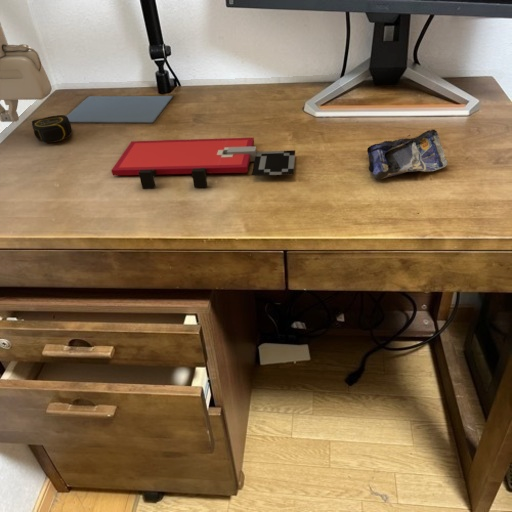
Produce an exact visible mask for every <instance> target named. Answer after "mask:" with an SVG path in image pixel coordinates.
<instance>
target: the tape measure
mask: <svg viewBox="0 0 512 512" xmlns="http://www.w3.org/2000/svg"><path fill="white" fill-rule="evenodd" d="M31 126H32V129H33V134H34V136H35V137H36V138H37V140H38V141H39V142H42V143H55V142H61V141H63V140H64V139H67V138H69V136H71V135H72V133H73V129H72V123H70V121H69V119H68V117H67V115H64V114H57V115H51V116H46V117H42V118H38V119H34V120H32V121H31Z"/></svg>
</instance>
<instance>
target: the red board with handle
mask: <svg viewBox="0 0 512 512" xmlns="http://www.w3.org/2000/svg"><path fill="white" fill-rule="evenodd" d="M254 145H255V137H226V138H195V139H167V140H166V139H164V140H162V139H161V140H133V141H131V142H130V143H129V144H128V146H127V147H126V148H125V150H124V151H123V153H122V154H121V155H120V157H119V159H118V160H117V162H116V163H115V164H114V166H113V167H112V169H111V170H110V171H111V174H112V176H138V177H139V180H140V184H141V188H142V189H143V190H144V189H155V187H156V182H155V176H157V175H184V174H185V175H190V174H191V176H192V183H193V187H194V188H196V189H197V188H207V187H208V181H207V174H228V173H229V174H235V173H236V174H237V173H238V174H240V173H243V174H244V173H248V170H249V165H250V163H252V162H253V167H252V171H251V176H277V175H279V176H281V175H284V176H285V175H286V176H287V175H294V173H295V161H296V160H295V159H296V150H295V149H294V150H260V151H257V150H258V149H257V146H254Z"/></svg>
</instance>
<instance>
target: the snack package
mask: <svg viewBox="0 0 512 512" xmlns="http://www.w3.org/2000/svg"><path fill="white" fill-rule="evenodd" d="M410 136H411V134H409V135H407V136H406V137H410ZM366 152H367V156H368V162H369V166H368V171H369V173H370V174H371V176H372V178H373V179H374V180H375V181H381V180H383V179H385V178H389V177H392V176H398V175H402V174H405V173H411V172H412V173H413V172H434V171H437V170H441V169H443V168H445V167H446V166H447V165H448V160H447V159H446V157H445V154H446V152H445V151H444V149H443V146H442V143H441V141H440V136H439V133H438V131H437V130H436V129H429V130H426V131H424V132H422V133H420V134H419V135H418V136H415V137H412V138H399V139H394V140H385V141H383V142H379V143H374V144H372V145H369V146H368V147H367V150H366Z"/></svg>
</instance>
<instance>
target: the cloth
mask: <svg viewBox="0 0 512 512" xmlns="http://www.w3.org/2000/svg"><path fill="white" fill-rule="evenodd" d="M173 98H174V95H88V96H87V98H85V99H84V100H83V101H81V102H80V103H79V104H78V105H77V106H76V107H75V108H74V109H73V110H72V111H71V112H69V113H68V114H67V115H66V116H67V117H68V119H69V121H70V124H154V123H155V121H156V120H157V119H158V118H159V116H160V115H161V113H162V112H163V111H164V110H165V108H166V107H167V106H168V104H169V103H170V102H171V100H173Z"/></svg>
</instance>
